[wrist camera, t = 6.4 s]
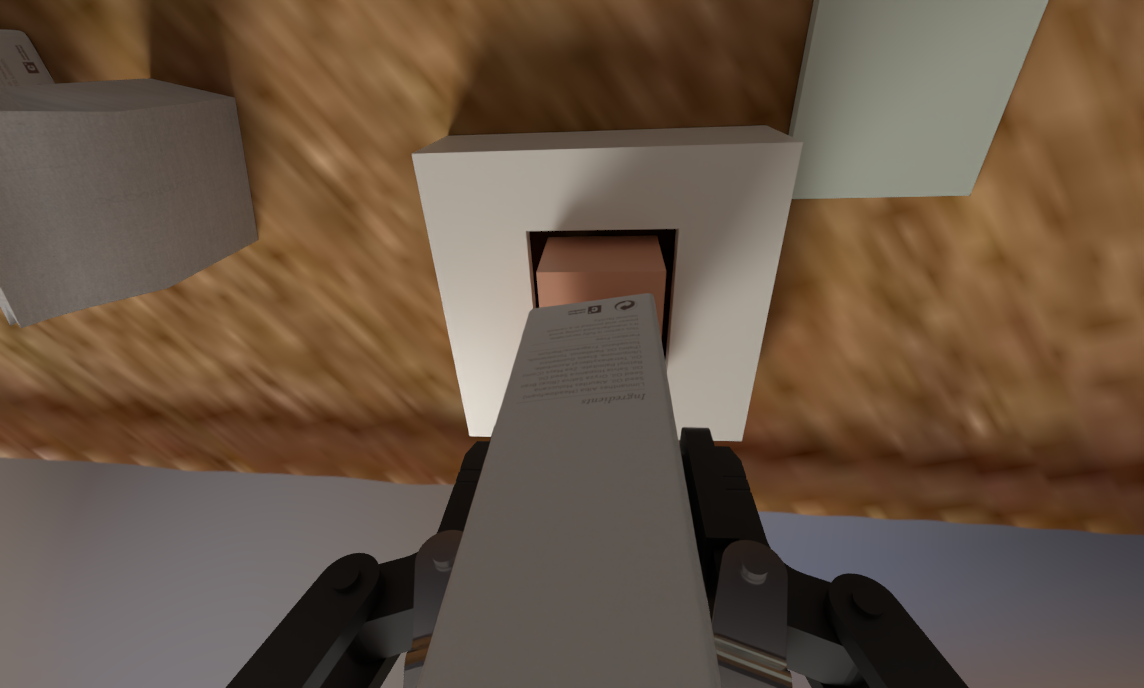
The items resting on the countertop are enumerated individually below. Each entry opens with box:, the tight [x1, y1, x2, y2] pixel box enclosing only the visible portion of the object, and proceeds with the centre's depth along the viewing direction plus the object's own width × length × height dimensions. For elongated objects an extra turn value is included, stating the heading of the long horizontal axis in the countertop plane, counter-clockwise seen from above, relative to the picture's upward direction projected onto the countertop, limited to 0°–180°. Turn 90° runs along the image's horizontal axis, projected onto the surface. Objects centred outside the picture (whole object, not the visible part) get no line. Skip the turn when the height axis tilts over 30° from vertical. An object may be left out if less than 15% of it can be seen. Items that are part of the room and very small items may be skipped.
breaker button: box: [536, 236, 666, 337], centre depth 20 cm, size 5×7×4 cm
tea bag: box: [0, 78, 258, 328], centre depth 18 cm, size 4×7×10 cm, turn 169°
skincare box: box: [417, 293, 722, 688], centre depth 12 cm, size 6×4×12 cm
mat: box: [788, 0, 1048, 199], centre depth 19 cm, size 8×8×1 cm
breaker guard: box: [412, 125, 803, 441], centre depth 22 cm, size 14×14×4 cm
